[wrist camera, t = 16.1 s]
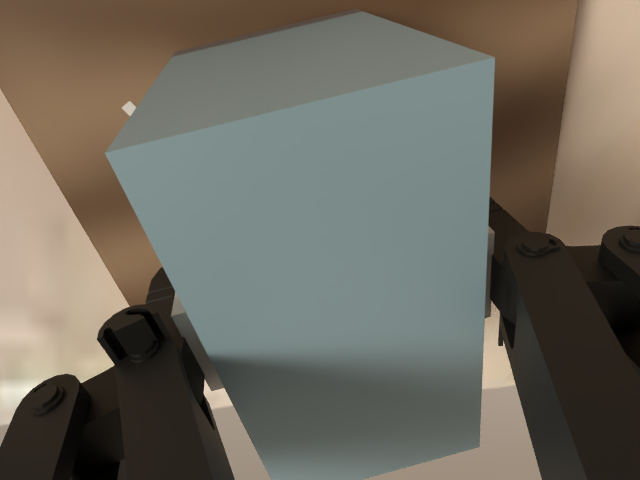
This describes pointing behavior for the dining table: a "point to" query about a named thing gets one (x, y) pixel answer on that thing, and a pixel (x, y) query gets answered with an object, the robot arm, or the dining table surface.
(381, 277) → the block
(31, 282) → the dining table surface
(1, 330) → the dining table surface
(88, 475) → the robot arm
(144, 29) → the board
